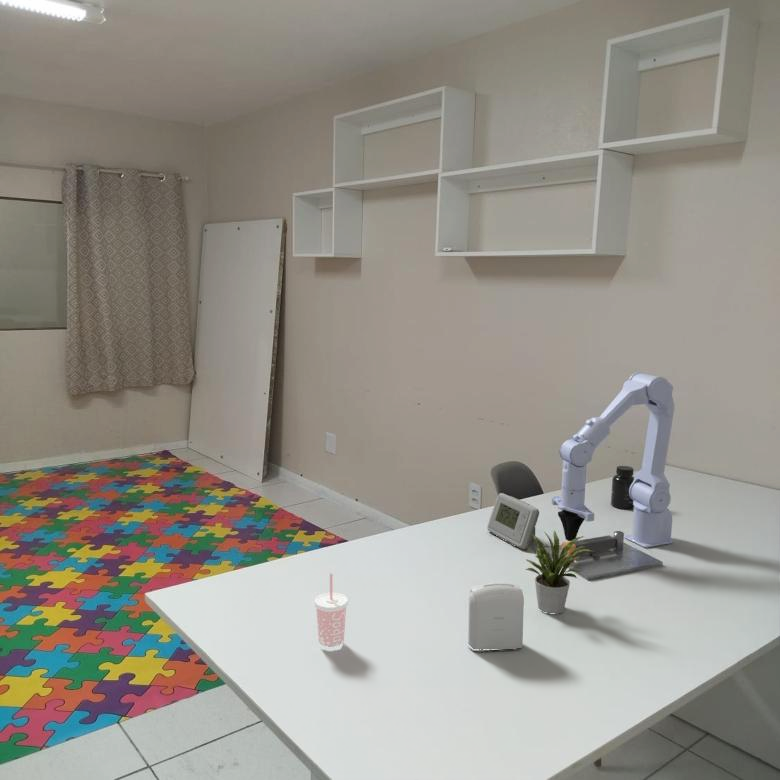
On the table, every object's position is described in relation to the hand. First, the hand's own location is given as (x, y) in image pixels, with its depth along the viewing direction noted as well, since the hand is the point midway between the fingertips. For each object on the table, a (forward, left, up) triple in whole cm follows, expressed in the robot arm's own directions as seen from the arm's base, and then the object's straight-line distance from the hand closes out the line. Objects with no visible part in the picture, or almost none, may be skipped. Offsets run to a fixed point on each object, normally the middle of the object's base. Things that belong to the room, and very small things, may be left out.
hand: (570, 539), depth 180 cm
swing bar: (-1, +6, -1) cm, 6 cm away
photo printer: (+43, +34, -3) cm, 55 cm away
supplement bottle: (-36, -22, -3) cm, 42 cm away
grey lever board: (-3, +8, -2) cm, 9 cm away
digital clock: (+10, -11, -3) cm, 15 cm away
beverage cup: (+71, +22, -3) cm, 74 cm away
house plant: (+23, +26, -3) cm, 35 cm away
